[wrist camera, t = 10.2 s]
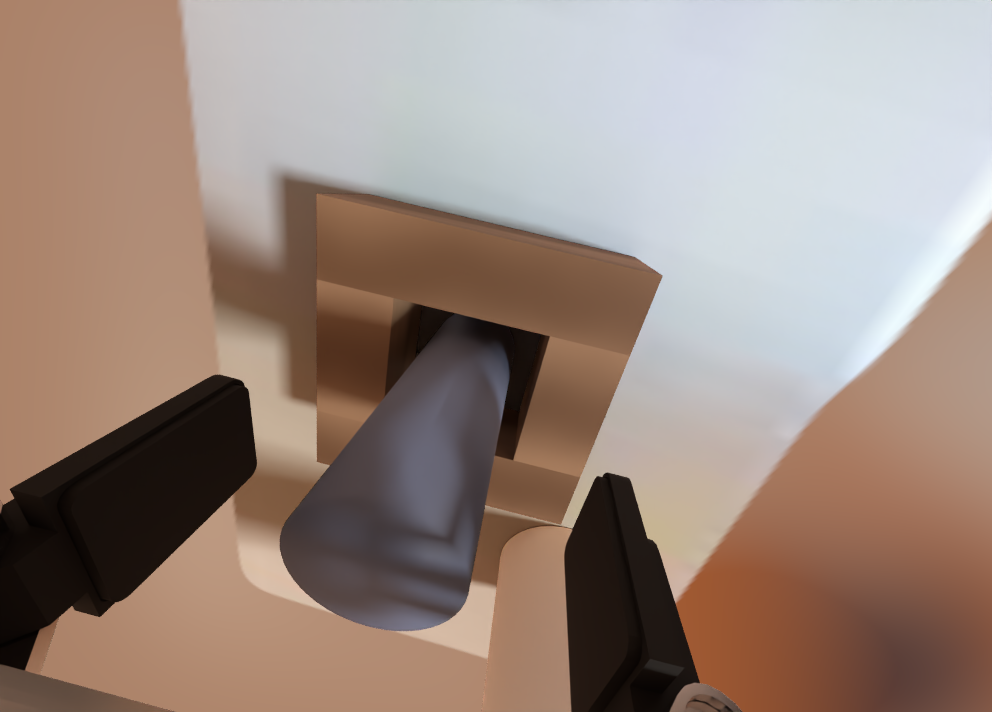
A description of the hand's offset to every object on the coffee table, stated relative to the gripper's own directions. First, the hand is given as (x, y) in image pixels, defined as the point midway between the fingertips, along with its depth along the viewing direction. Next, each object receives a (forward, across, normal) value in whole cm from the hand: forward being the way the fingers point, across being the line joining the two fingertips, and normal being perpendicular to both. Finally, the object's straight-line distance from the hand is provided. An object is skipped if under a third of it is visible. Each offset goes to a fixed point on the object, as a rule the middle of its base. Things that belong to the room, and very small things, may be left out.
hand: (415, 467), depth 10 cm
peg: (+9, 0, +1) cm, 9 cm away
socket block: (+9, 0, +1) cm, 9 cm away
